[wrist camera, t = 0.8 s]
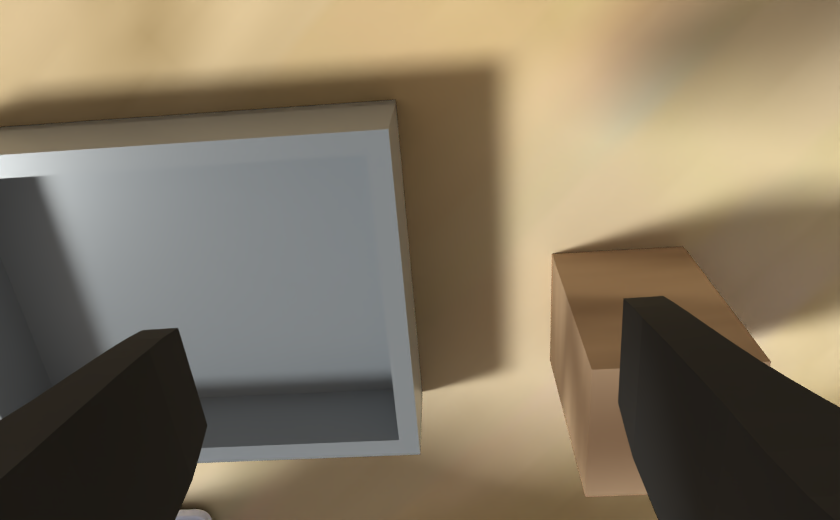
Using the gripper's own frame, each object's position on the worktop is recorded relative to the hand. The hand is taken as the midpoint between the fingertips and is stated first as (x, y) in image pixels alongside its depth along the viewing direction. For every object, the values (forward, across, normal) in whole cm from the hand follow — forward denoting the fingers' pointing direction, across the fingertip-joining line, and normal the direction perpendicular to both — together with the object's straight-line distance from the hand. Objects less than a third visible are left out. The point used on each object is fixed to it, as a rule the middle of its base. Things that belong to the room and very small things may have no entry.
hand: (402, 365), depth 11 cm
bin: (+10, +7, +3) cm, 12 cm away
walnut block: (+10, -6, +5) cm, 12 cm away
